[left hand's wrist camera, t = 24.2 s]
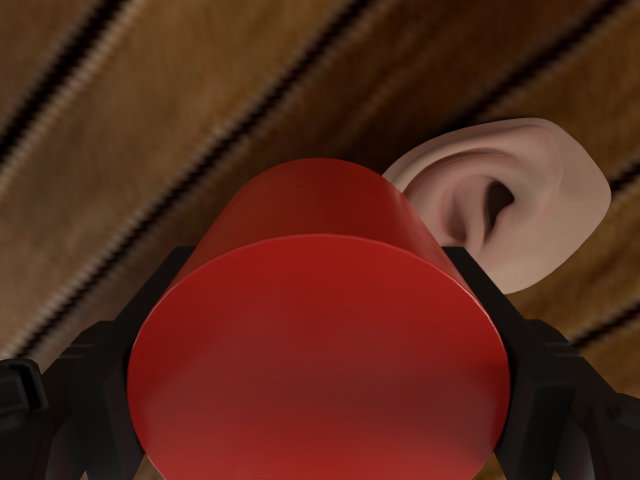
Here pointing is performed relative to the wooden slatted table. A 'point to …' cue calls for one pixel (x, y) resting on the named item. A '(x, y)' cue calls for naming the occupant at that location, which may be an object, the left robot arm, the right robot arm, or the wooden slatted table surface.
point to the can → (318, 342)
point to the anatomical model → (506, 196)
